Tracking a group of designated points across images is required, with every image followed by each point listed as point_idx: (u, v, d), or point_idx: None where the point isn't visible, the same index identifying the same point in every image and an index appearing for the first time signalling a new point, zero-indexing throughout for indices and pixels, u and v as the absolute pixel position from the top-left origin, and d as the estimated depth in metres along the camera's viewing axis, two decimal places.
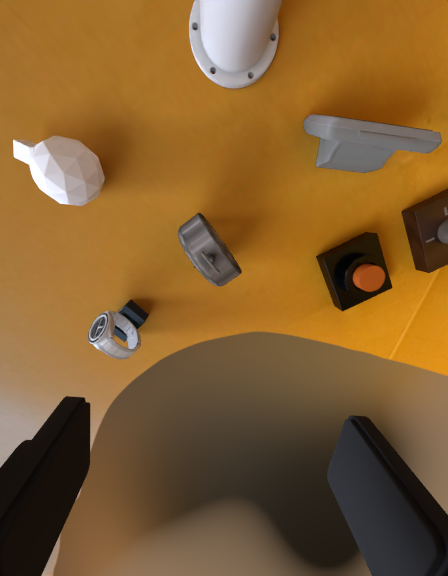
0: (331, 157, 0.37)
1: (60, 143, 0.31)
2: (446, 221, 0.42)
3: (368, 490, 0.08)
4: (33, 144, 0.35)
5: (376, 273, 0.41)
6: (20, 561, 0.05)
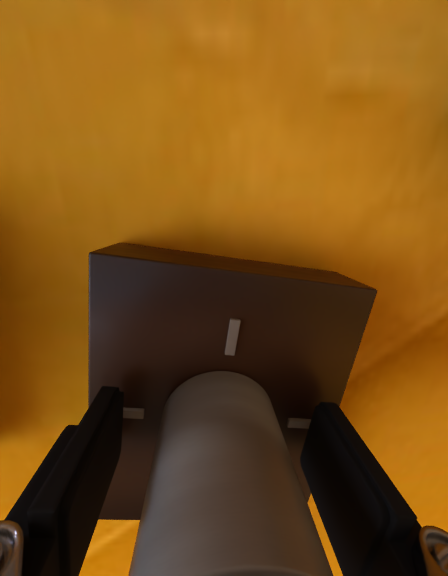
0: None
1: None
2: None
3: (331, 470, 0.08)
4: None
5: None
6: (78, 527, 0.06)
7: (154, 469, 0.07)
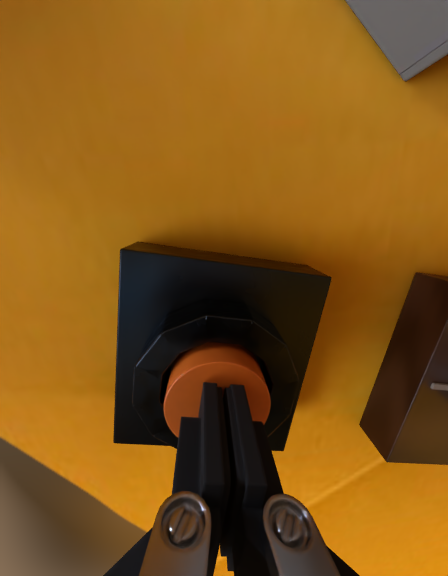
0: None
1: None
2: None
3: None
4: None
5: None
6: None
7: None
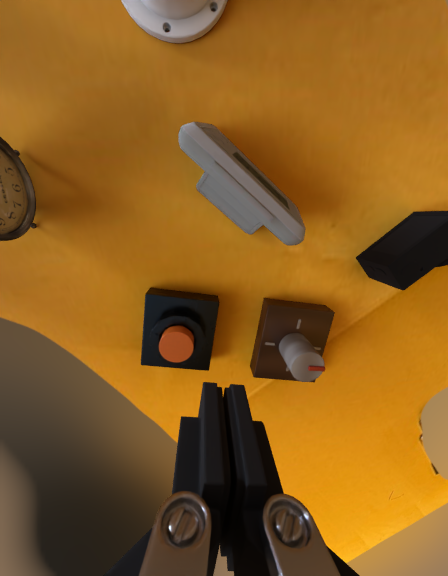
0: (199, 183, 0.28)
1: None
2: (280, 351, 0.37)
3: None
4: None
5: (184, 344, 0.32)
6: None
7: (287, 349, 0.34)
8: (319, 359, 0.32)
